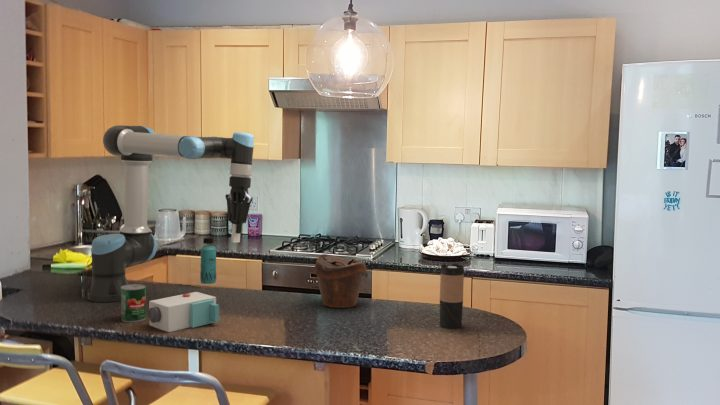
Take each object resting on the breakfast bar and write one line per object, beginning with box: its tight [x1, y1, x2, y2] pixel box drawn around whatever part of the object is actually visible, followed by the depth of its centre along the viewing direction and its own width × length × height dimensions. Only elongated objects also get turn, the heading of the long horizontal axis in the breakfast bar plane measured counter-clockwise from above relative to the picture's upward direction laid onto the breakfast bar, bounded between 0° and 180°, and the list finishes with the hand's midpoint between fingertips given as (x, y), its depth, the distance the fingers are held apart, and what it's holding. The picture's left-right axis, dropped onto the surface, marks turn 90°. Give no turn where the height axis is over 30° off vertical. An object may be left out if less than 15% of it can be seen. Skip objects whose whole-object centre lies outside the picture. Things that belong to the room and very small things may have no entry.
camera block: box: [147, 291, 217, 333], centre depth 210 cm, size 11×20×9 cm, turn 139°
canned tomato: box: [120, 283, 147, 323], centre depth 215 cm, size 8×8×11 cm
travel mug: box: [439, 263, 465, 329], centre depth 213 cm, size 8×8×20 cm
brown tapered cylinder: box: [313, 253, 369, 309], centre depth 239 cm, size 18×20×18 cm
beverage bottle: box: [199, 237, 217, 285], centre depth 264 cm, size 6×7×20 cm
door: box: [189, 299, 220, 329], centre depth 207 cm, size 4×8×8 cm, turn 139°
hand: (235, 242), depth 230 cm, fingers closed
